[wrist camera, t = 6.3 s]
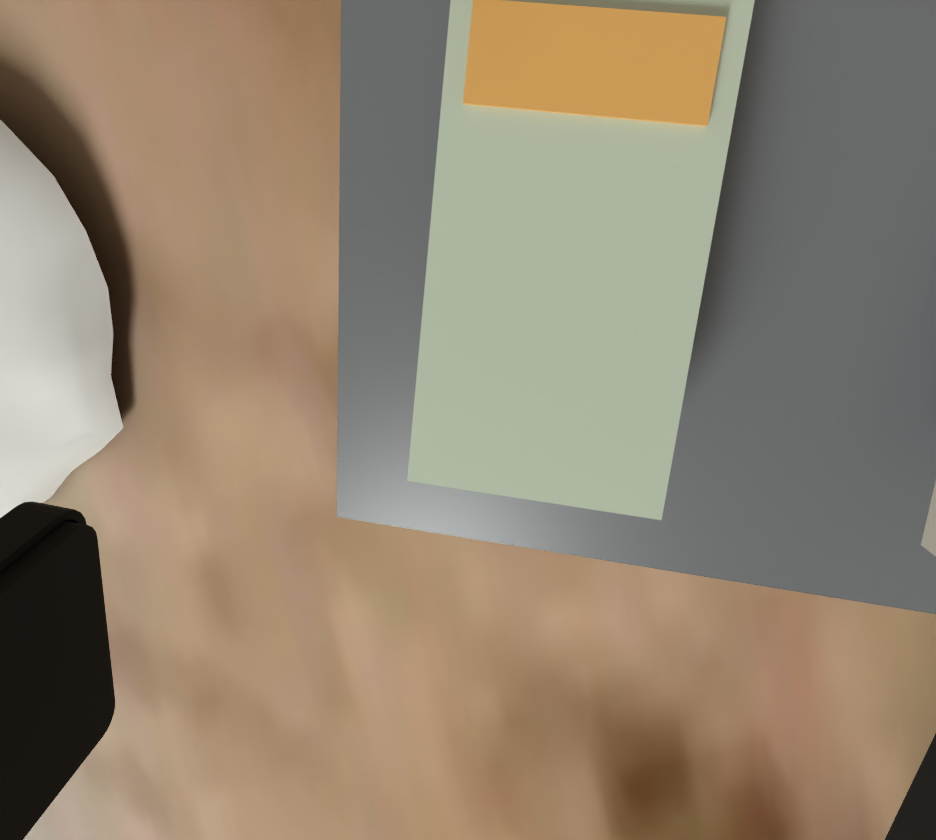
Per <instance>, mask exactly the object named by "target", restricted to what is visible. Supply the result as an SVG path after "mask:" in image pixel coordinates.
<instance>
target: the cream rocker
mask: <svg viewBox="0 0 936 840" xmlns="http://www.w3.org/2000/svg"><path fill="white" fill-rule="evenodd" d="M921 545H922V546H923V547H924V548H925V549H927V550H928V551H929V552H930V553H932V554H933V555H934V556H936V482H935V486H934V490H933V494H932V499H931V503H930V507H929V512H928V516H927V520H926V524H925V529H924V533H923V537H922V542H921Z"/></svg>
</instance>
